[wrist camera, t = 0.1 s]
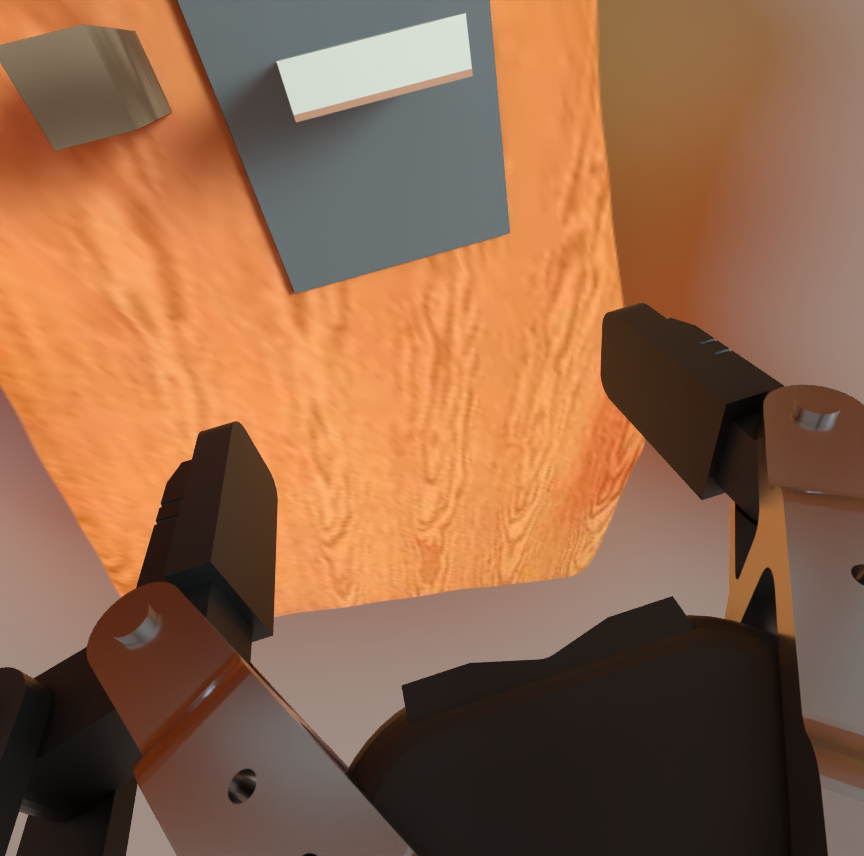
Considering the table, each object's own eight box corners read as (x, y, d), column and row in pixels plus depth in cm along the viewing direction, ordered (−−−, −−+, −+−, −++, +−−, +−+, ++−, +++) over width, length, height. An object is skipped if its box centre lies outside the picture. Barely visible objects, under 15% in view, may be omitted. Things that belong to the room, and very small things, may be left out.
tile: (280, 59, 30) (276, 61, 22) (421, 23, 30) (465, 12, 22) (295, 105, 31) (296, 122, 23) (428, 70, 32) (472, 76, 24)
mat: (136, -107, 25) (133, -110, 24) (469, -185, 26) (473, -190, 25) (295, 290, 39) (295, 293, 38) (507, 230, 40) (509, 233, 39)
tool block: (66, 48, 28) (-10, 47, 21) (135, 31, 28) (83, 24, 21) (109, 128, 30) (55, 150, 23) (172, 111, 30) (136, 129, 23)
